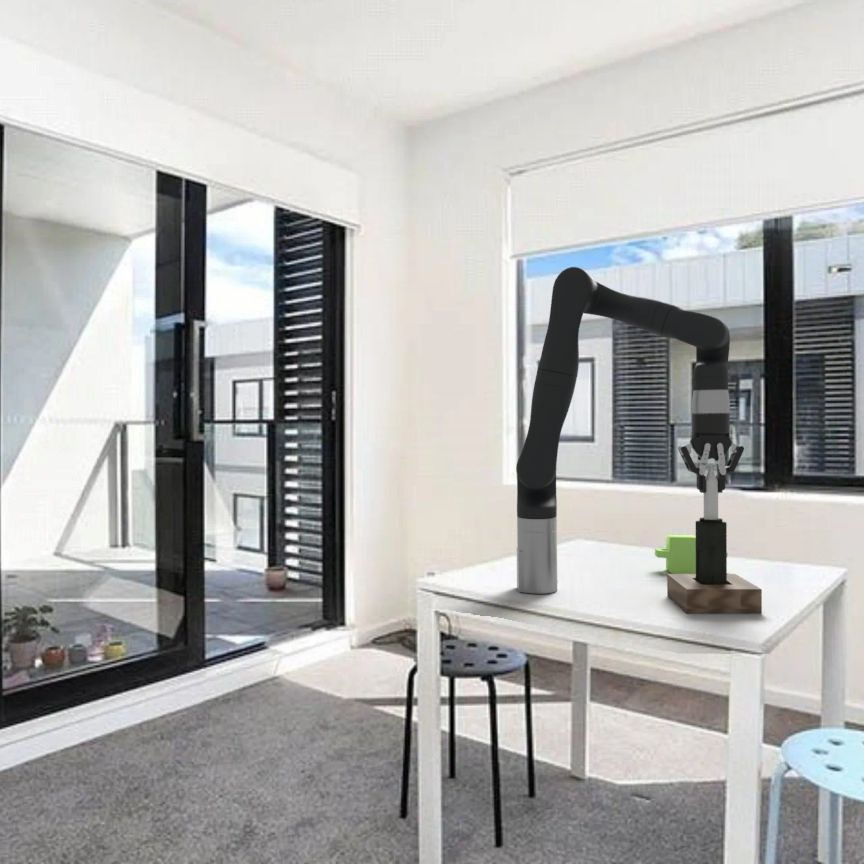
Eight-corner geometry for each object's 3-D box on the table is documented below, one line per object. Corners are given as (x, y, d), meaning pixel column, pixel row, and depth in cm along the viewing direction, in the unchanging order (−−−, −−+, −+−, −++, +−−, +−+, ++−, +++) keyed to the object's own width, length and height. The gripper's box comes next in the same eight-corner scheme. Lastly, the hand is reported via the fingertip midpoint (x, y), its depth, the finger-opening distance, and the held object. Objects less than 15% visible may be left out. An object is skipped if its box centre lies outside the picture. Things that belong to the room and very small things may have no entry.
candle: (693, 579, 160) (692, 464, 160) (712, 577, 162) (711, 463, 162) (709, 584, 156) (709, 465, 155) (729, 582, 157) (728, 464, 157)
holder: (686, 613, 152) (686, 589, 152) (667, 596, 167) (667, 573, 167) (761, 613, 151) (761, 589, 151) (735, 596, 166) (735, 573, 166)
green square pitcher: (723, 570, 196) (723, 534, 197) (733, 576, 187) (733, 539, 187) (653, 568, 199) (653, 532, 199) (659, 574, 189) (659, 537, 189)
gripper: (682, 411, 155) (682, 494, 155) (750, 411, 154) (751, 494, 154) (672, 412, 162) (672, 490, 163) (737, 411, 162) (738, 490, 162)
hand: (710, 492), depth 159 cm, fingers closed on candle, 3 cm apart
